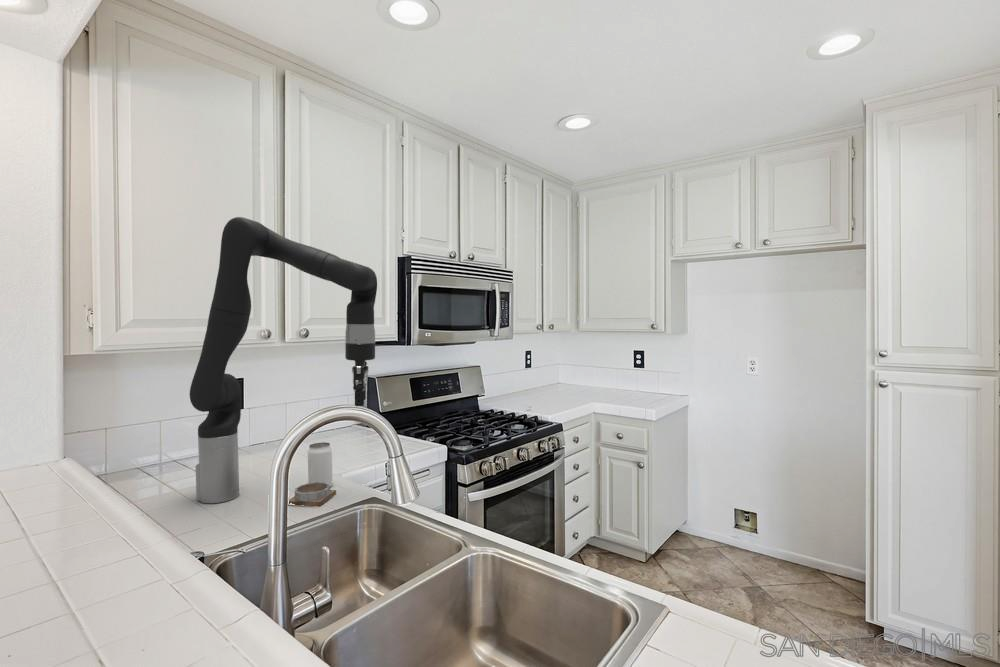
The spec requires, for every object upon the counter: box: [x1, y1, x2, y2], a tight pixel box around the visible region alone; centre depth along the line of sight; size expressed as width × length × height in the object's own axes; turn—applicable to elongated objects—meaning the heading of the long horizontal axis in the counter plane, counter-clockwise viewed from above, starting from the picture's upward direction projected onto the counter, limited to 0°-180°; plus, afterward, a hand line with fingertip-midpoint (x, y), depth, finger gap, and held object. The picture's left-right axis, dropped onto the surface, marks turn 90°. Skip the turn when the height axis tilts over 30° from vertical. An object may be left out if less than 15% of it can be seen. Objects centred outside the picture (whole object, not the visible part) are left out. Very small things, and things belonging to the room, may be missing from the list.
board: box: [288, 489, 337, 508], centre depth 129 cm, size 9×9×1 cm
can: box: [307, 441, 334, 488], centre depth 139 cm, size 6×6×12 cm
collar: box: [294, 482, 331, 501], centre depth 129 cm, size 9×9×2 cm
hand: (360, 402), depth 128 cm, fingers open, 8 cm apart
